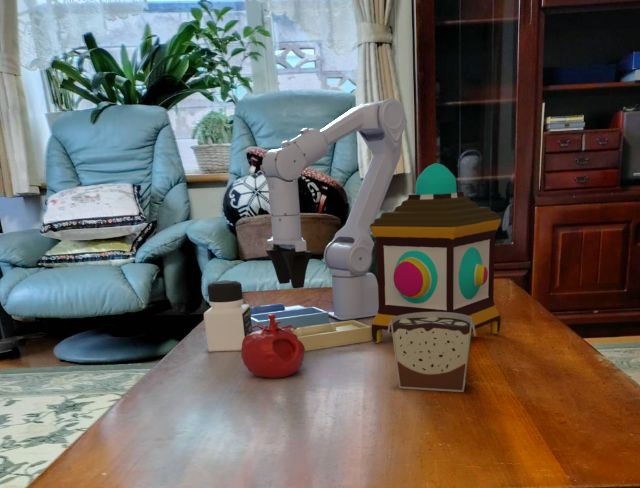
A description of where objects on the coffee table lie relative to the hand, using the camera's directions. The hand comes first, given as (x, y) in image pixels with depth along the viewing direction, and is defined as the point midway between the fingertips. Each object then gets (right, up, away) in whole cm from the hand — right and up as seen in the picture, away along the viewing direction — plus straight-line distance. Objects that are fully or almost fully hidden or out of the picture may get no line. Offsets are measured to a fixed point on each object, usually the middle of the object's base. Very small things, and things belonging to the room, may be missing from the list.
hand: (291, 285), depth 137 cm
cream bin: (+8, -13, -11) cm, 19 cm away
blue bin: (-1, -8, +3) cm, 9 cm away
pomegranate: (+1, -21, -29) cm, 36 cm away
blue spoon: (-4, -5, +12) cm, 14 cm away
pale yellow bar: (+8, -13, -12) cm, 19 cm away
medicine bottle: (-10, -14, -11) cm, 20 cm away
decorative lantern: (+28, -13, -12) cm, 33 cm away
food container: (+25, -23, -39) cm, 51 cm away
